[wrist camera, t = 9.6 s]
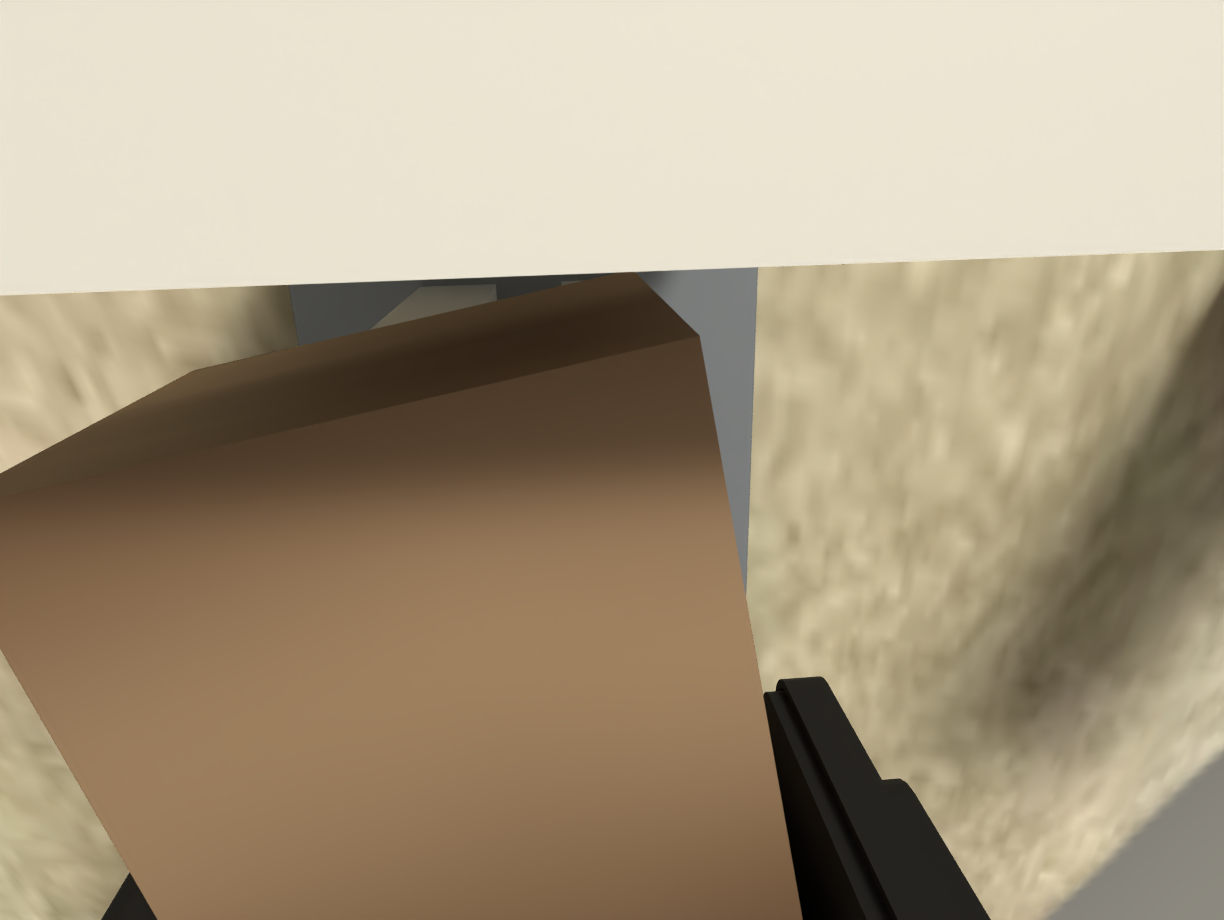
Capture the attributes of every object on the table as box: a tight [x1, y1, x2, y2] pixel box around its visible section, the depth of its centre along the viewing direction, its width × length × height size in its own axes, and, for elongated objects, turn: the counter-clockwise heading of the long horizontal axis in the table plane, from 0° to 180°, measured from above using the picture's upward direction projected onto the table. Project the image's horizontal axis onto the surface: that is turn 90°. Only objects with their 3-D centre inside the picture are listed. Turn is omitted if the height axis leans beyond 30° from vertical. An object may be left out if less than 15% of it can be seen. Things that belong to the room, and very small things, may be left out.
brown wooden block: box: [0, 272, 803, 920], centre depth 9 cm, size 12×5×4 cm, turn 12°
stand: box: [0, 0, 1224, 595], centre depth 12 cm, size 17×10×15 cm, turn 2°
